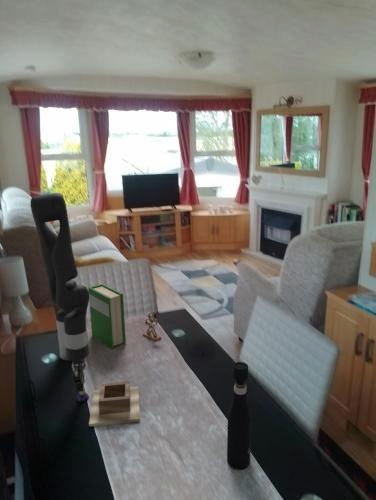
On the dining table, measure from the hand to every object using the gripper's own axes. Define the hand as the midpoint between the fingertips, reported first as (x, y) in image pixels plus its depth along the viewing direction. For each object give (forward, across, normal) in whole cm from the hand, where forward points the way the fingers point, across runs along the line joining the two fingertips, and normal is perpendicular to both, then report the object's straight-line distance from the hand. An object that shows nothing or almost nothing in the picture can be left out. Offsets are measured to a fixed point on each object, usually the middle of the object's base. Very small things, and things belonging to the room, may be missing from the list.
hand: (80, 387), depth 138 cm
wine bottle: (+5, +36, +47) cm, 59 cm away
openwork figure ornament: (+5, -43, +27) cm, 51 cm away
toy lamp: (+5, 0, 0) cm, 5 cm away
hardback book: (+5, -44, +7) cm, 45 cm away
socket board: (+5, +6, +12) cm, 14 cm away
